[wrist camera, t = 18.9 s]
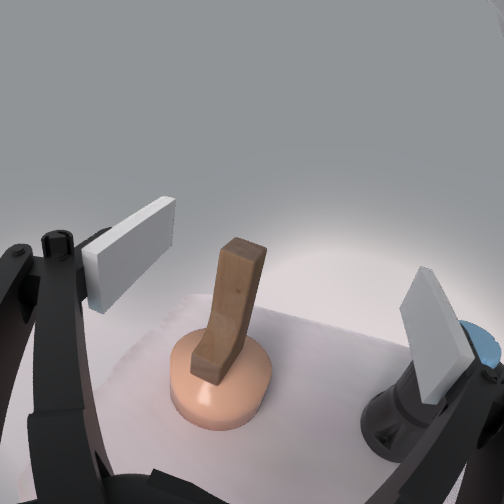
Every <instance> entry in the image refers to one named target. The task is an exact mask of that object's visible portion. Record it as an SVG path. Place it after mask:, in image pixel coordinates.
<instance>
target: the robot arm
mask: <svg viewBox="0 0 504 504" xmlns="http://www.w3.org/2000/svg"><path fill="white" fill-rule="evenodd" d="M488 2H489V3H490V4H491V5H492V6H493V7H494V9H495V10H496V11H497V13H498V19H499V23H500V27H501V30H502V34H503V36H504V0H488ZM175 203H176V199H174V198H170V197H166V196H162V197H161V198H159V199H157V200H156V201H154V202H153V203H151V204H149V205H147V206H146V207H144V208H142V209H141V210H139V211H138V212H136V213H135V214H133V215H131V216H130V217H128V218H127V219H125V220H124V221H122V222H121V223H119V224H117V225H116V226H115V227H113V228H112V227H109V228H105V229H102V230H100V231H98V232H97V233H95V234H94V235H93V236H91V237H89V238H88V239H87V240H85V241H83V242H82V243H80V244H79V245H78V246H76V247H74V242H73V235H72V233H71V232H69V231H66V230H55V231H51V232H48V233H46V234H45V235H44V236H43V237H42V238H41V241H42V249H43V254H44V257H37V256H33V252H32V248H31V246H30V245H28V244H17V245H16V244H15V245H13V246H12V247H10V248H8V249H7V250H6V251H5V253H4V254H3V255H2V257H1V258H0V442H1V437H2V431H3V426H4V422H5V417H6V413H7V408H8V404H9V400H10V397H11V393H12V389H13V385H14V382H15V378H16V375H17V371H18V369H19V365H20V362H21V359H22V356H23V353H24V350H25V347H26V344H27V341H28V338H29V336H30V333H31V331H32V328H33V325H34V323H35V333H34V352H33V398H34V399H33V400H34V412H33V413H32V414H29V416H28V418H27V429H28V441H29V450H30V458H31V466H32V472H33V478H34V484H35V490H36V495H37V499H35V500H31V501H27V502H23V503H18V504H229V503H227V502H225V501H223V500H221V499H219V498H217V497H215V496H213V495H212V494H210V493H208V492H206V491H205V490H203V489H201V488H199V487H198V486H196V485H194V484H193V483H191V482H188V481H185V480H182V479H179V478H177V477H174V476H171V475H169V474H166V473H164V472H161V471H159V470H156V469H153V471H152V473H151V475H145V474H119V475H114V473H113V470H112V467H111V465H110V462H109V459H108V457H107V454H106V451H105V447H104V443H103V439H102V435H101V431H100V427H99V422H98V418H97V413H96V408H95V403H94V397H93V392H92V386H91V380H90V374H89V367H88V360H87V351H86V343H85V333H84V321H83V310H82V309H83V308H82V301H83V300H84V299H85V298H86V297H87V298H88V305H89V308H90V309H92V310H94V311H97V312H99V313H101V314H104V313H105V312H106V311H107V310H108V309H109V308H110V307H111V306H112V305H113V304H114V303H115V302H116V301H117V300H118V299H119V297H121V296H122V294H123V293H124V292H125V291H126V290H127V289H128V288H129V287H130V286H131V285H132V284H133V283H134V282H135V281H136V280H137V279H138V278H139V277H140V276H141V275H142V274H143V273H144V272H145V271H146V270H147V269H148V268H149V267H150V266H151V265H152V264H153V263H154V262H155V261H156V260H157V259H158V258H159V257H160V256H161V255H162V254H163V253H165V252H166V251H167V250H168V249H169V248H170V247H171V246H172V238H173V225H174V214H175ZM400 312H401V315H402V319H403V322H404V326H405V330H406V334H407V337H408V341H409V345H410V349H411V353H412V358H413V360H412V362H411V363H410V365H409V366H408V368H407V369H406V370H405V372H404V373H403V375H402V376H401V377H400V379H399V380H398V381H397V383H396V384H395V385H393V386H391V387H390V388H389V389H387V390H386V391H384V392H382V393H380V394H378V395H377V396H375V397H374V398H373V399H372V400H371V401H370V403H369V404H368V405H367V406H366V408H365V409H364V411H363V413H362V417H361V430H362V434H363V437H364V439H365V441H366V442H367V444H368V445H369V447H370V448H371V449H372V450H373V451H374V452H375V453H376V454H378V455H379V456H380V457H382V458H384V459H386V460H389V461H392V462H397V463H401V464H400V465H399V467H398V468H397V469H396V470H395V471H394V472H393V474H392V475H391V476H390V477H389V478H388V479H387V480H386V481H385V483H384V484H383V485H382V486H381V487H380V488H379V489H378V490H377V491H376V492H375V493H374V494H373V495H372V496H371V497H370V498H369V500H368V501H367V502H366V503H365V504H443V502H444V501H445V499H446V497H447V496H448V494H449V493H450V491H451V489H452V488H453V486H454V484H455V482H456V481H457V479H458V477H459V475H460V474H461V472H462V470H463V468H464V466H465V464H466V462H467V464H466V468H465V472H464V476H463V480H462V483H461V487H460V490H459V493H458V496H457V500H456V503H455V504H504V365H503V364H502V363H501V362H500V357H501V348H500V346H499V344H498V342H496V341H495V338H494V337H493V336H492V335H491V334H490V333H488V332H487V331H486V330H484V329H482V328H481V327H479V326H477V325H475V324H473V323H470V322H467V321H462V320H458V319H457V317H456V314H455V312H454V310H453V308H452V306H451V304H450V302H449V300H448V299H447V297H446V295H445V293H444V291H443V289H442V287H441V285H440V283H439V282H438V280H437V278H436V276H435V274H434V272H433V271H432V270H431V269H428V268H425V267H422V266H420V268H419V270H418V272H417V274H416V276H415V279H414V281H413V282H412V285H411V287H410V289H409V291H408V293H407V295H406V297H405V299H404V301H403V303H402V305H401V306H400Z"/></svg>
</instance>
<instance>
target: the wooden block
mask: <svg viewBox="0 0 504 504" xmlns="http://www.w3.org/2000/svg"><path fill="white" fill-rule="evenodd" d="M266 252H267V248H265V247H263V246H260V245H258V244H254V243H252V242H249V241H246V240H243V239H241V238H234V239H233V240H231V241H230V242H229V243H228V244H226V245H225V246H224V247H223V248H222V249H221V250H220V255H219V261H218V268H217V274H216V281H215V288H214V294H213V301H212V308H211V314H210V318H209V322H208V326H207V328H206V330H205V332H204V335H203V337H202V339H201V341H200V342H199V344H198V345H197V346H196V348H195V349H194V351H193V352H192V355H191V366H190V373H191V374H192V375H194V376H196V377H198V378H200V379H202V380H204V381H207V382H209V383H211V384H213V385H215V386H218V385H219V384H220V382H221V381H222V379H223V378H224V376H225V375H226V373H227V372H228V370H229V369H230V367H231V366H232V364H233V363H234V361H235V360H236V358H237V357H238V355H239V354H240V352H241V350H242V349H243V346H244V342H245V338H246V334H247V330H248V326H249V322H250V318H251V314H252V310H253V306H254V302H255V297H256V293H257V289H258V285H259V281H260V277H261V273H262V269H263V265H264V260H265V256H266Z"/></svg>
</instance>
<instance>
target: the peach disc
mask: <svg viewBox="0 0 504 504" xmlns="http://www.w3.org/2000/svg"><path fill="white" fill-rule="evenodd" d="M205 330H206V328H204V329H199V330H196V331H193V332H191V333H189V334H187V335H185V336H184V337H182V338H181V339H180V340H179V341H178V342H177V343H176V345H175V346H174V348H173V350H172V353H171V357H170V394H171V399H172V402H173V404H174V406H175V408H176V410H177V411H178V412H179V413H180V415H182V416H183V417H184V418H185V419H186V420H188V421H189V422H190V423H192V424H194V425H196V426H199V427H201V428H204V429H208V430H216V431H223V430H231V429H235V428H238V427H240V426H242V425H244V424H246V423H247V422H249V421H250V420H251V419H252V418H253V417H254V416H255V414H256V413H257V411H258V409H259V406H260V404H261V401H262V399H263V396H264V394H265V391H266V389H267V386H268V384H269V381H270V378H271V374H272V366H271V362H270V359H269V357H268V355H267V353H266V352H265V350H264V349H263V348H262V347H261V346H260V345H259V344H258V343H257V342H256V341H255V340H253V339H252V338H250V337H248V336H247V335H246V338H245V342H244V346H243V349H242V350H241V352H240V354H239V355H238V357H237V358H236V360H235V361H234V363H233V364H232V366H231V367H230V369H229V370H228V372H227V373H226V375H225V376H224V378H223V379H222V381H221V382H220V384H219V385H218V386H215V385H213V384H211V383H209V382H207V381H204V380H202V379H200V378H198V377H196V376H194V375H192V374H191V373H190V366H191V355H192V352H193V351H194V349H195V348H196V346H197V345H198V344H199V342H200V341H201V339H202V337H203V335H204V332H205Z"/></svg>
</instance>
